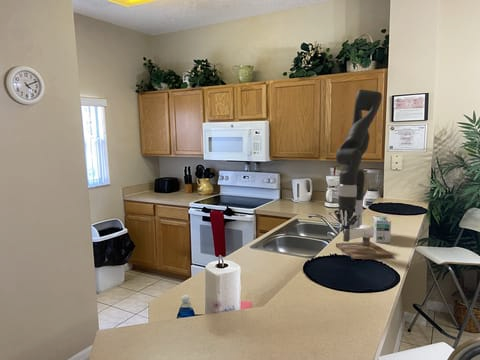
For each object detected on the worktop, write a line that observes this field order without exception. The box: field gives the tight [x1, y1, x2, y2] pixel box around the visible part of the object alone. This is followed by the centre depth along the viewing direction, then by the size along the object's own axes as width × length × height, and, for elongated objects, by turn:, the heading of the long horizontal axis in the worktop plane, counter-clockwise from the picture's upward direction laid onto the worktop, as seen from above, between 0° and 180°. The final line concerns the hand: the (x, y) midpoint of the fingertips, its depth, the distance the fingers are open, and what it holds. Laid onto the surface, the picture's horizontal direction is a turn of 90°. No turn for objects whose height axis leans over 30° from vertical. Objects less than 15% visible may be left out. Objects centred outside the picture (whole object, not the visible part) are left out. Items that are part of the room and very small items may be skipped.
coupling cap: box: [342, 224, 374, 243], centre depth 152 cm, size 17×6×5 cm, turn 120°
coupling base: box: [335, 237, 394, 260], centre depth 151 cm, size 18×17×6 cm
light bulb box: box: [372, 215, 392, 244], centre depth 168 cm, size 11×7×11 cm, turn 168°
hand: (345, 233), depth 152 cm, fingers closed
